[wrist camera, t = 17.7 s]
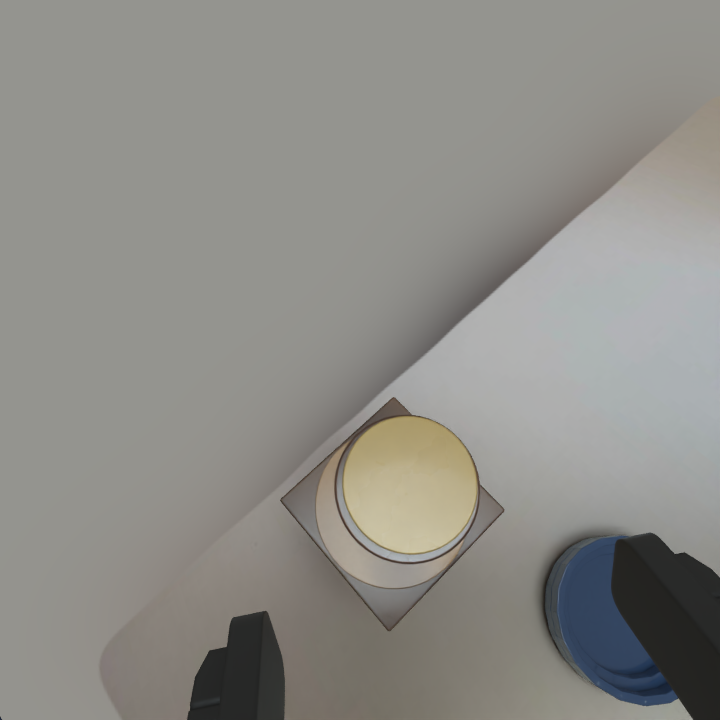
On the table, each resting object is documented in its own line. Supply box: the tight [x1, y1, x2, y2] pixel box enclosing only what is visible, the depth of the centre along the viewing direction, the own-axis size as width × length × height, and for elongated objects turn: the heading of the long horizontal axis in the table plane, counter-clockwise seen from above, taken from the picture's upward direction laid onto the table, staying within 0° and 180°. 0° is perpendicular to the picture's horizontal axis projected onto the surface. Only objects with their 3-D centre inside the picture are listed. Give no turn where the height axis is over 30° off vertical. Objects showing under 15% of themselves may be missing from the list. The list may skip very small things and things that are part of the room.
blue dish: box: [545, 535, 678, 706], centre depth 38 cm, size 11×11×4 cm
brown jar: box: [334, 415, 480, 565], centre depth 19 cm, size 5×5×10 cm
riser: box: [280, 397, 504, 631], centre depth 33 cm, size 8×8×19 cm
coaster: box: [315, 439, 465, 589], centre depth 24 cm, size 8×8×1 cm
